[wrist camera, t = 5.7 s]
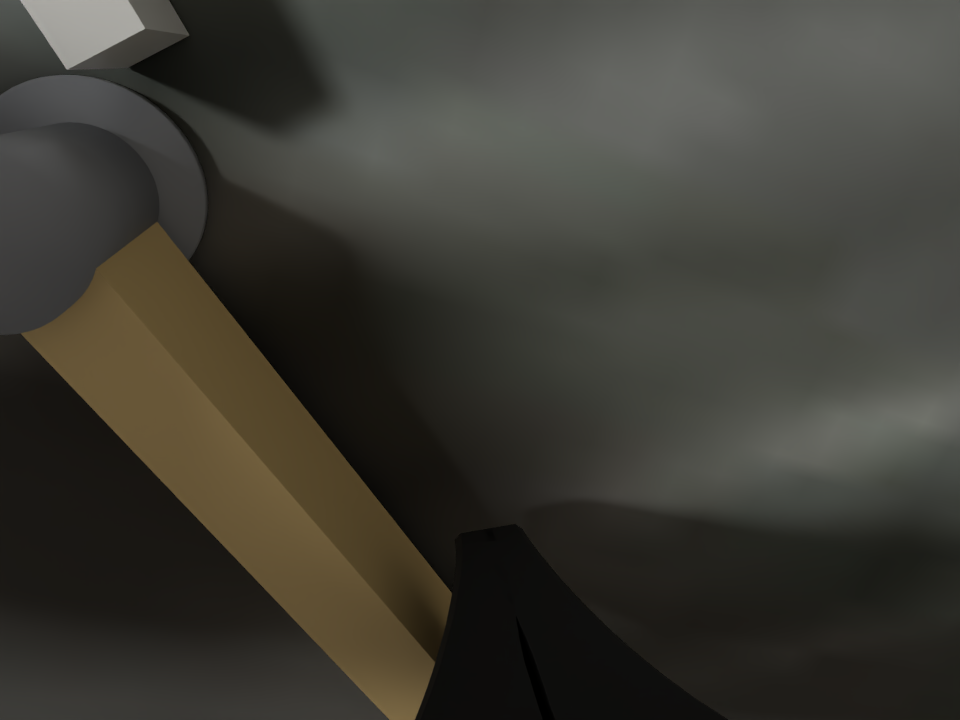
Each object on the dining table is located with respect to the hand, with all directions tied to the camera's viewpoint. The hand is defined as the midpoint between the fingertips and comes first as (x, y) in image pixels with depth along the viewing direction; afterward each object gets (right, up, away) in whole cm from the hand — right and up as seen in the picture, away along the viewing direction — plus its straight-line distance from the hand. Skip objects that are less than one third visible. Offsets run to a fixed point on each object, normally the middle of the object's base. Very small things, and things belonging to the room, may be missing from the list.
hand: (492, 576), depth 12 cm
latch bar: (-2, 0, +1) cm, 2 cm away
